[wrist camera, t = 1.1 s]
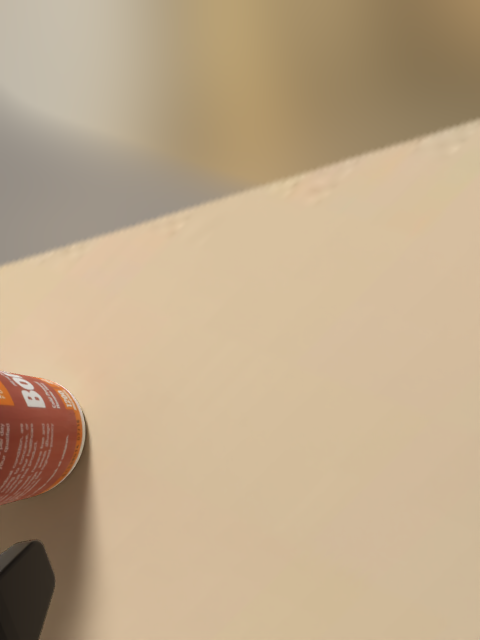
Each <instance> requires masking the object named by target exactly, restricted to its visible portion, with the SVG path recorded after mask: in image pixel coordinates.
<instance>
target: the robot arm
mask: <svg viewBox="0 0 480 640" xmlns="http://www.w3.org/2000/svg"><path fill="white" fill-rule="evenodd" d="M54 587H55V576H54V572H53V569H52V566H51V564H50V561H49V558H48V556H47V553H46V550H45V547H44V545H43V543H42V542H41V541H40V540H37V539H35V540H29V541H24V542H19V543H16V544H14V545H13V546H12V547H10V548H9V549H7V550H6V551H4V552H3V553H2V554H0V640H39V638H40V634H41V631H42V628H43V624H44V621H45V618H46V615H47V611H48V608H49V605H50V602H51V598H52V595H53V592H54Z"/></svg>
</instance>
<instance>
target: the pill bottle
mask: <svg viewBox="0 0 480 640" xmlns="http://www.w3.org/2000/svg"><path fill="white" fill-rule="evenodd" d="M84 441H85V421H84V416H83V413H82V410H81V407H80V405H79V403H78V402H77V400H76V399H75V397H74V396H73V395H72V394H71V392H69V391H68V390H67V389H66V388H65V387H63V386H61V385H60V384H58V383H56V382H53V381H50V380H46V379H42V378H36V377H30V376H25V375H19V374H14V373H9V372H4V371H0V505H3V504H7V503H10V502H14V501H18V500H22V499H26V498H29V497H33V496H36V495H39V494H42V493H44V492H47V491H49V490H50V489H52V488H54V487H55V486H57V485H58V484H60V483H61V482H62V481H63V480H64V479H65V478H66V477H67V476H68V475H69V474H70V473H71V471H72V470H73V469H74V467H75V466H76V464H77V462H78V460H79V458H80V456H81V453H82V450H83V446H84Z"/></svg>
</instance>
